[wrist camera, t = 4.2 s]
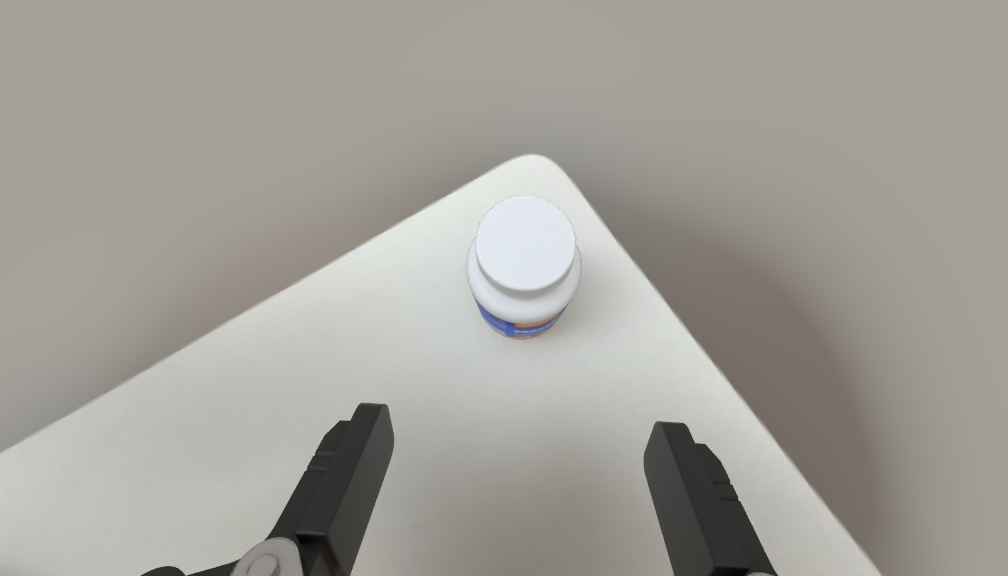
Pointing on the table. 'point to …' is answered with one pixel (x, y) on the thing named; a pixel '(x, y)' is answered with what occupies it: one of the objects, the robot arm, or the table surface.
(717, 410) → the table surface
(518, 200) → the pill bottle
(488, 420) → the table surface
